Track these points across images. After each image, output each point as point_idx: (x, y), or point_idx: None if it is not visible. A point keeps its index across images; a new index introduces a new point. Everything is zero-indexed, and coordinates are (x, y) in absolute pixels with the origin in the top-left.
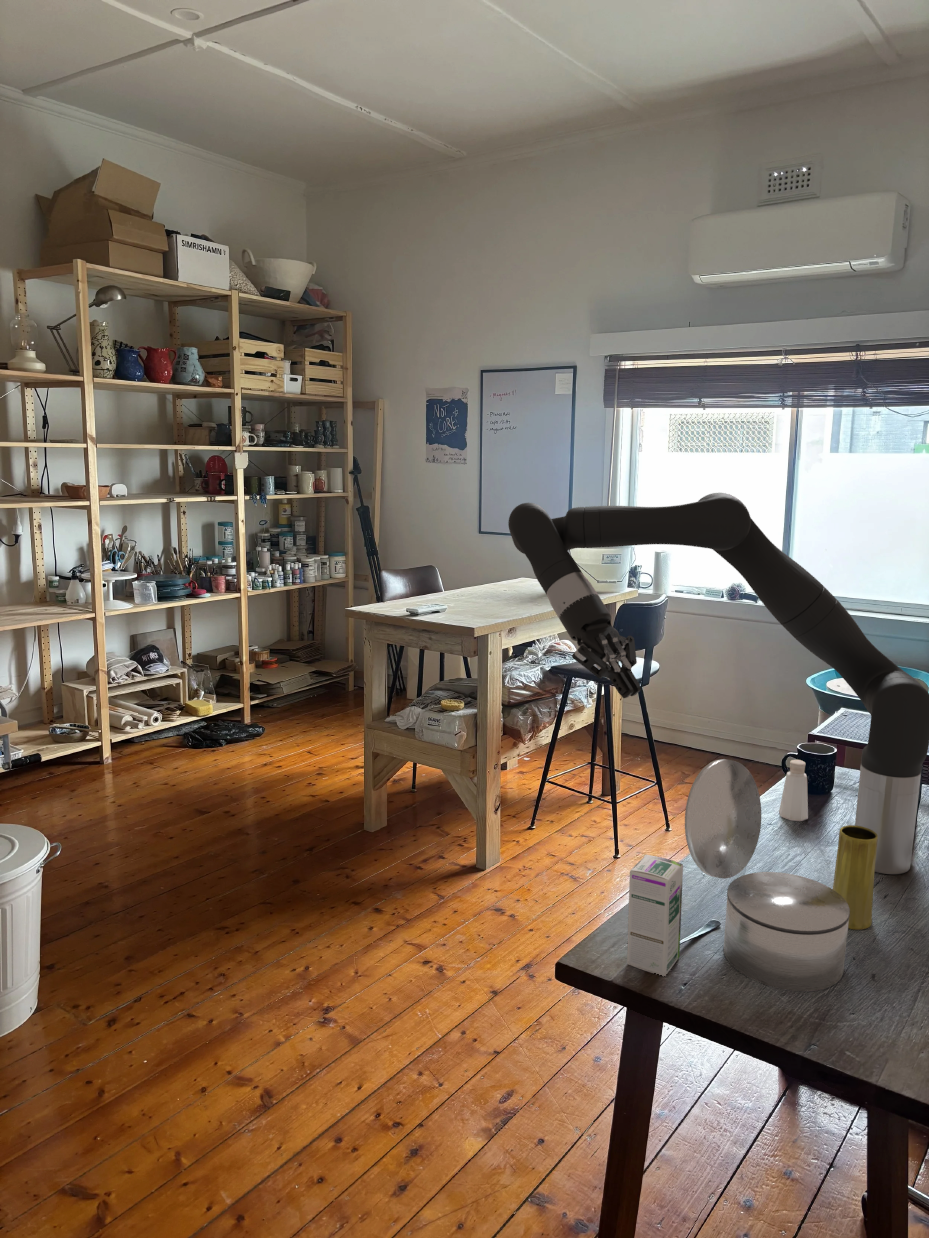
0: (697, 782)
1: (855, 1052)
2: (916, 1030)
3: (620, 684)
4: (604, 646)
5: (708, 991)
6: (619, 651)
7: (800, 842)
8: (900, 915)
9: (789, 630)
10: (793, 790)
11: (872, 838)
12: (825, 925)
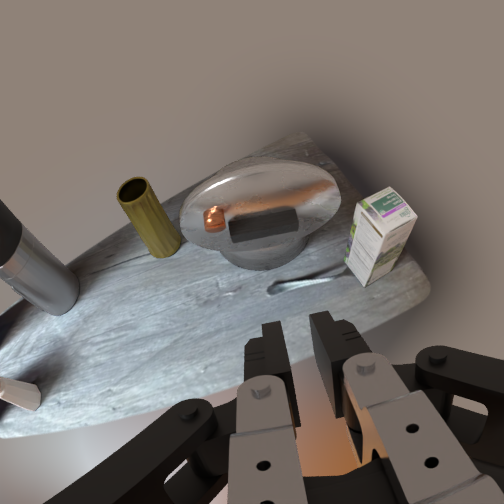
0: (314, 169)
1: (302, 153)
2: (252, 153)
3: (360, 337)
4: (455, 457)
5: (349, 220)
6: (293, 444)
7: (70, 358)
8: (129, 233)
9: None
10: (16, 386)
11: (124, 191)
12: (262, 159)
